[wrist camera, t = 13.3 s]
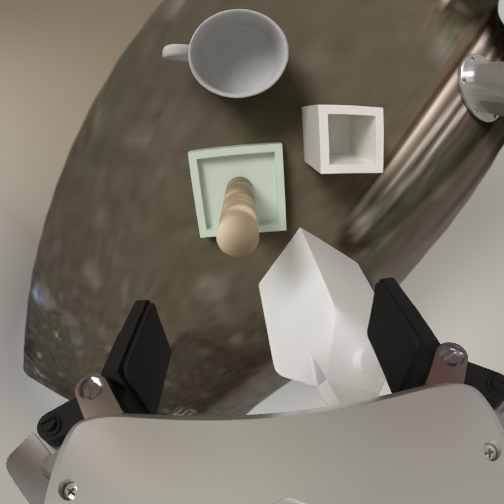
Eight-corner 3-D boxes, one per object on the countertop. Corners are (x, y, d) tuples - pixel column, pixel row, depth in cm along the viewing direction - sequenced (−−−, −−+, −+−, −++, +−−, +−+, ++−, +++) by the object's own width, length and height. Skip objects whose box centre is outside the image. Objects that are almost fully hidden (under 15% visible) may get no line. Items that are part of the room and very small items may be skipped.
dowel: (251, 175, 38) (257, 215, 23) (254, 200, 39) (260, 254, 25) (224, 177, 38) (213, 219, 24) (227, 203, 39) (219, 258, 25)
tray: (279, 142, 37) (282, 143, 35) (284, 224, 42) (286, 230, 40) (190, 150, 37) (187, 152, 35) (202, 231, 42) (200, 237, 40)
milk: (258, 284, 47) (271, 430, 24) (300, 227, 42) (358, 361, 19) (315, 312, 50) (354, 443, 27) (357, 263, 46) (431, 386, 22)
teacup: (290, 41, 30) (301, 24, 23) (266, 111, 35) (271, 109, 28) (189, 17, 28) (177, -3, 21) (165, 86, 33) (147, 80, 25)
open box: (354, 107, 34) (382, 107, 26) (355, 159, 38) (383, 172, 30) (301, 106, 34) (317, 104, 26) (304, 160, 38) (320, 173, 30)
